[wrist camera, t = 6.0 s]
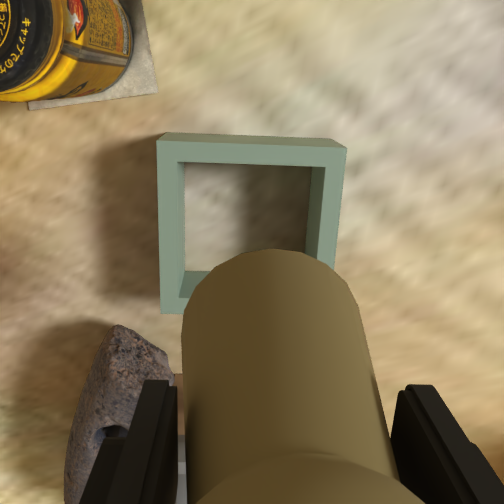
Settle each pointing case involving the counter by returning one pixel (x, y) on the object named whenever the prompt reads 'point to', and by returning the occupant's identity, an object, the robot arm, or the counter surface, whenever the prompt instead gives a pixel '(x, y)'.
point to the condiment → (73, 51)
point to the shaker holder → (241, 152)
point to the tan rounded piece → (282, 389)
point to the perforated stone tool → (109, 401)
